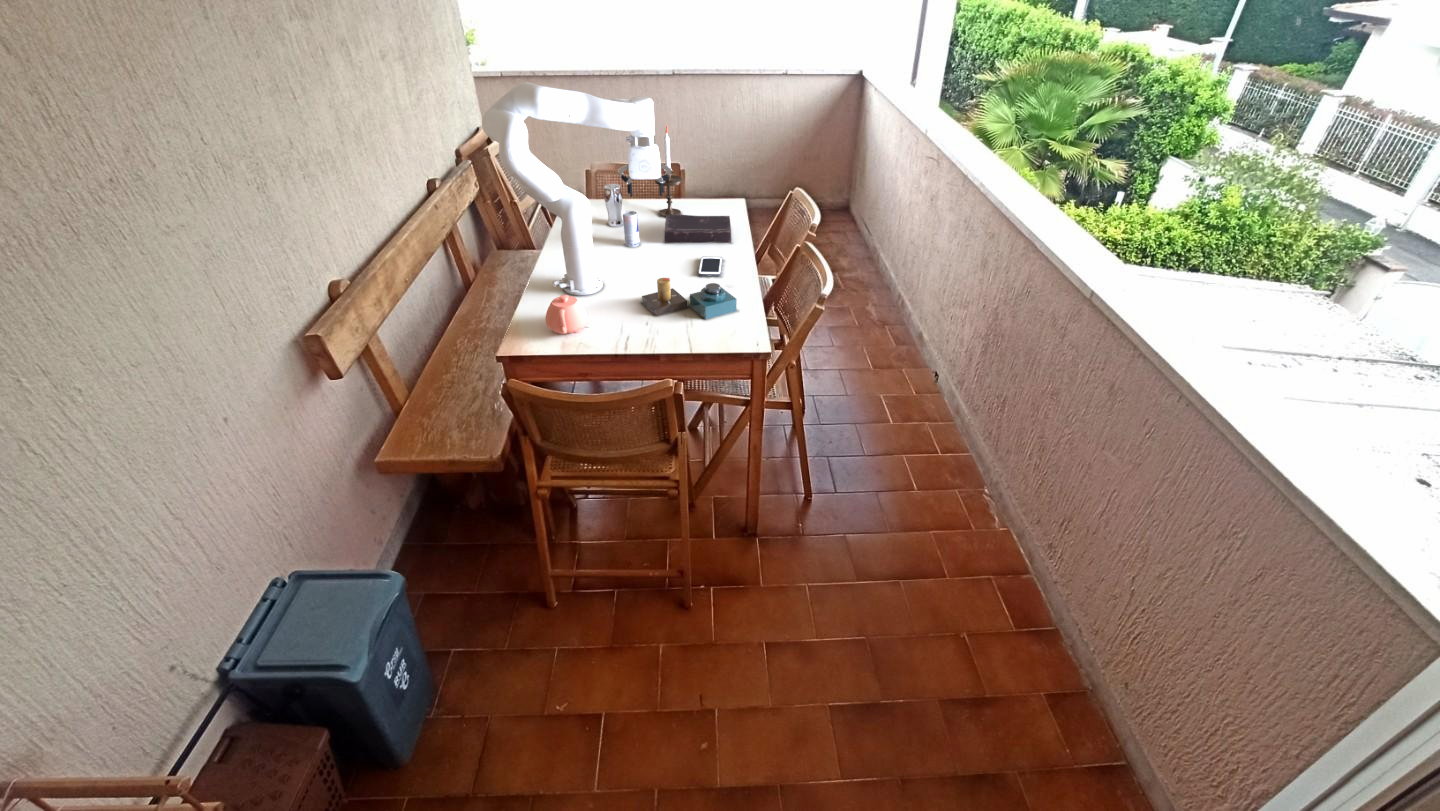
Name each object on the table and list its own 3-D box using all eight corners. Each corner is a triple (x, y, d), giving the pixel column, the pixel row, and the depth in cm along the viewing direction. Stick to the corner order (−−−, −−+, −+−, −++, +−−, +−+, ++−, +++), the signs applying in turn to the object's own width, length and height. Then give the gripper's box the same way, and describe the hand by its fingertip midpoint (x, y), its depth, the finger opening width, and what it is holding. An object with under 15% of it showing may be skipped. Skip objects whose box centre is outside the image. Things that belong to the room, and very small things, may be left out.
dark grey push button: (710, 296, 195) (710, 290, 193) (703, 291, 198) (703, 285, 196) (722, 293, 196) (722, 287, 195) (715, 287, 199) (715, 281, 198)
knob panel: (656, 316, 196) (655, 308, 195) (642, 303, 203) (641, 295, 202) (687, 307, 201) (687, 300, 199) (673, 295, 208) (672, 287, 206)
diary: (731, 244, 242) (731, 231, 239) (664, 244, 241) (664, 231, 238) (729, 226, 257) (729, 213, 254) (666, 226, 256) (666, 214, 254)
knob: (661, 302, 198) (660, 283, 194) (655, 297, 201) (654, 278, 197) (673, 299, 200) (672, 280, 196) (667, 294, 203) (666, 275, 199)
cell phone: (698, 276, 219) (698, 273, 218) (701, 258, 231) (701, 256, 230) (720, 277, 218) (720, 274, 218) (722, 259, 230) (722, 256, 230)
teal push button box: (705, 319, 195) (705, 301, 191) (689, 306, 202) (689, 288, 198) (736, 311, 199) (736, 293, 196) (719, 298, 206) (720, 281, 202)
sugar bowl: (591, 317, 195) (587, 286, 189) (585, 340, 184) (581, 308, 178) (551, 317, 195) (545, 287, 189) (542, 341, 184) (536, 309, 178)
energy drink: (640, 242, 243) (638, 211, 236) (638, 247, 239) (635, 216, 232) (627, 241, 244) (624, 210, 237) (623, 247, 239) (621, 215, 232)
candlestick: (672, 207, 274) (669, 120, 253) (688, 214, 267) (685, 125, 246) (651, 213, 268) (646, 124, 248) (666, 220, 261) (662, 129, 241)
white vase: (604, 222, 260) (600, 184, 251) (621, 219, 262) (617, 182, 253) (609, 228, 255) (606, 190, 246) (626, 225, 257) (623, 187, 248)
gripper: (615, 144, 197) (619, 199, 207) (671, 143, 199) (673, 198, 209) (615, 138, 203) (619, 192, 213) (670, 137, 205) (671, 191, 215)
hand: (646, 195), depth 211 cm, fingers open, 9 cm apart
